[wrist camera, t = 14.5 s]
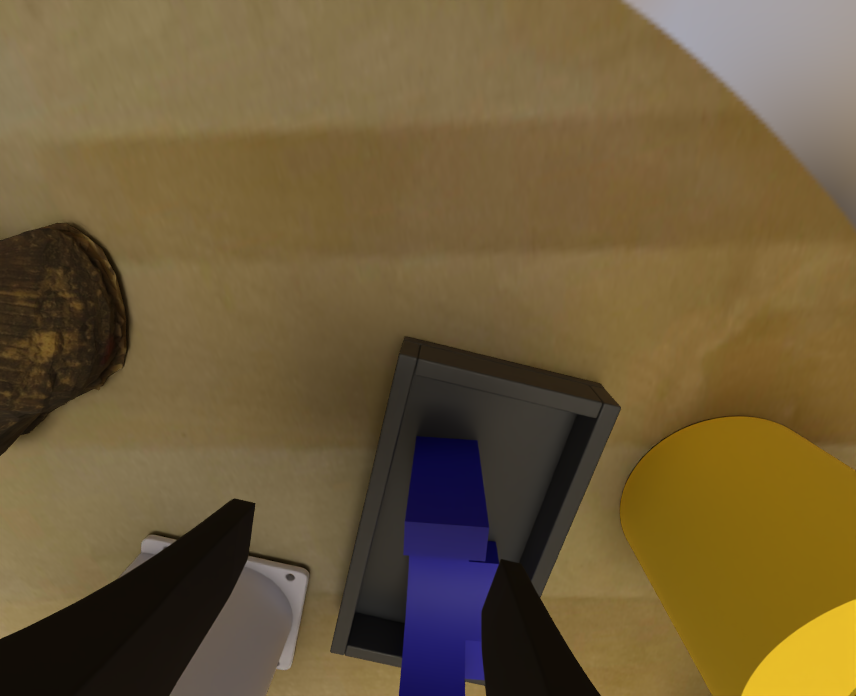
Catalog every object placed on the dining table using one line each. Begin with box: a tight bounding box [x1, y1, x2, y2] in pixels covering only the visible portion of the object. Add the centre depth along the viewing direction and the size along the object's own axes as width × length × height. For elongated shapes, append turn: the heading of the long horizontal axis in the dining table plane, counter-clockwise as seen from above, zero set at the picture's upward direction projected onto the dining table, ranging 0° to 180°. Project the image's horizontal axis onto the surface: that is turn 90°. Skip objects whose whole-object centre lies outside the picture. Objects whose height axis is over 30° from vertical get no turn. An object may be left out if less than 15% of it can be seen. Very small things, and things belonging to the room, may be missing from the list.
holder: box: [330, 337, 621, 686], centre depth 21 cm, size 10×18×3 cm, turn 166°
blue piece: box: [399, 436, 499, 696], centre depth 20 cm, size 12×4×6 cm, turn 177°
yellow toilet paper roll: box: [620, 416, 856, 696], centre depth 17 cm, size 10×10×9 cm
